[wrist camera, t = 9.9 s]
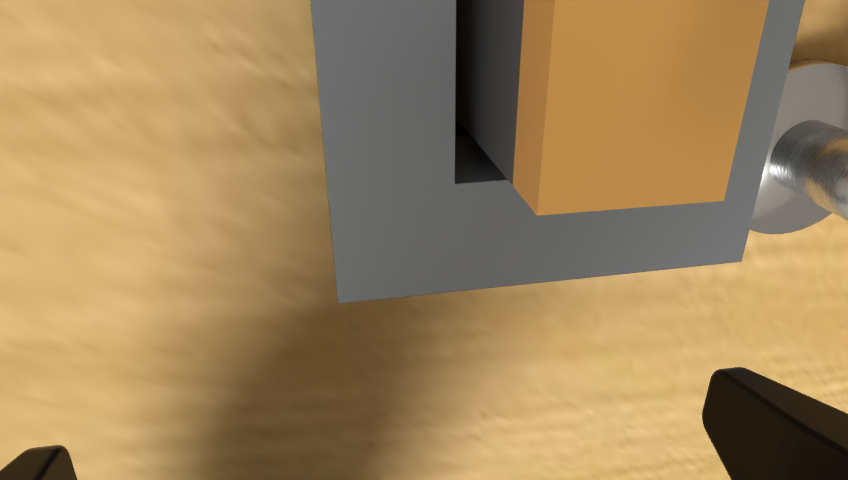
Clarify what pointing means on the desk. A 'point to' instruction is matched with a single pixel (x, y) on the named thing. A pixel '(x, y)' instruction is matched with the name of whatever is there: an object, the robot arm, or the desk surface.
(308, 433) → the desk surface
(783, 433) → the robot arm
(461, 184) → the frame
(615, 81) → the block
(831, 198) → the post
